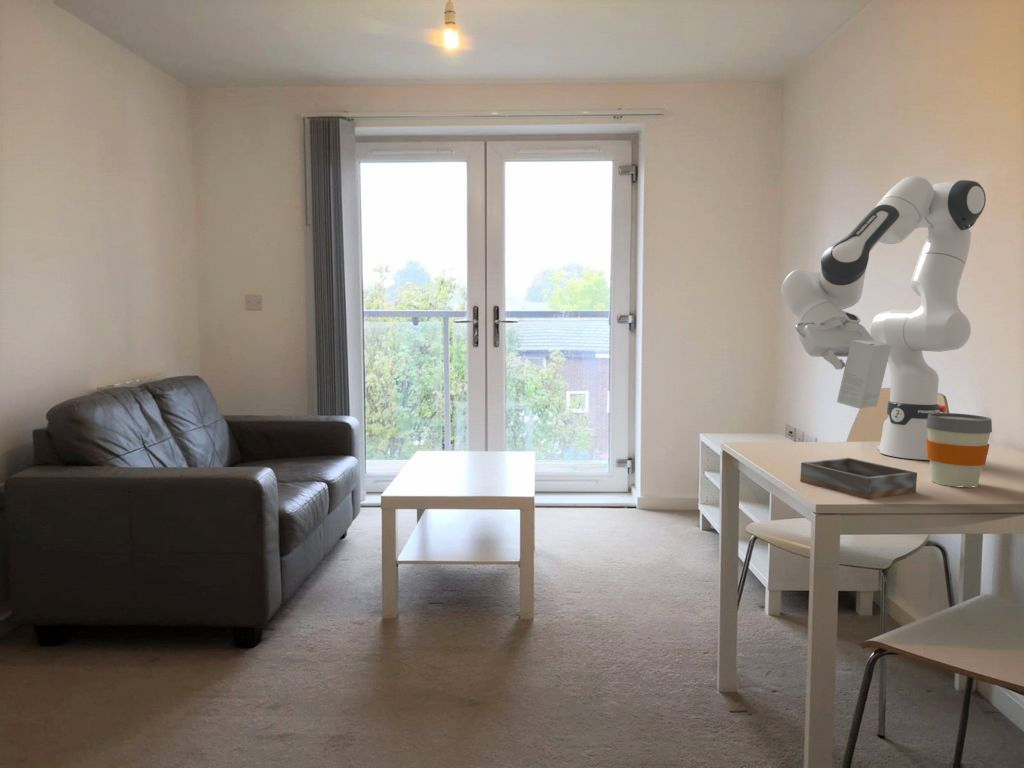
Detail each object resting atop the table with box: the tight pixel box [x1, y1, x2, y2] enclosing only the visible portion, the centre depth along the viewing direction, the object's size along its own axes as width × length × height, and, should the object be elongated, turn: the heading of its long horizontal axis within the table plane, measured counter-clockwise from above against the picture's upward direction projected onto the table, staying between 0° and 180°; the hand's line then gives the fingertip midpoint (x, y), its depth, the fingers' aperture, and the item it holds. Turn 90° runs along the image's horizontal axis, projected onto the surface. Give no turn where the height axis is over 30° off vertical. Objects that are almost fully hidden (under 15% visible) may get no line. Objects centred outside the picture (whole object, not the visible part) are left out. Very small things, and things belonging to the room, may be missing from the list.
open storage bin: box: [800, 457, 918, 500], centre depth 158 cm, size 15×17×4 cm
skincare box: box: [836, 340, 891, 410], centre depth 166 cm, size 8×6×15 cm
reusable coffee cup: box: [926, 412, 993, 487], centre depth 163 cm, size 13×13×15 cm
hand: (856, 367), depth 168 cm, fingers closed on skincare box, 8 cm apart
